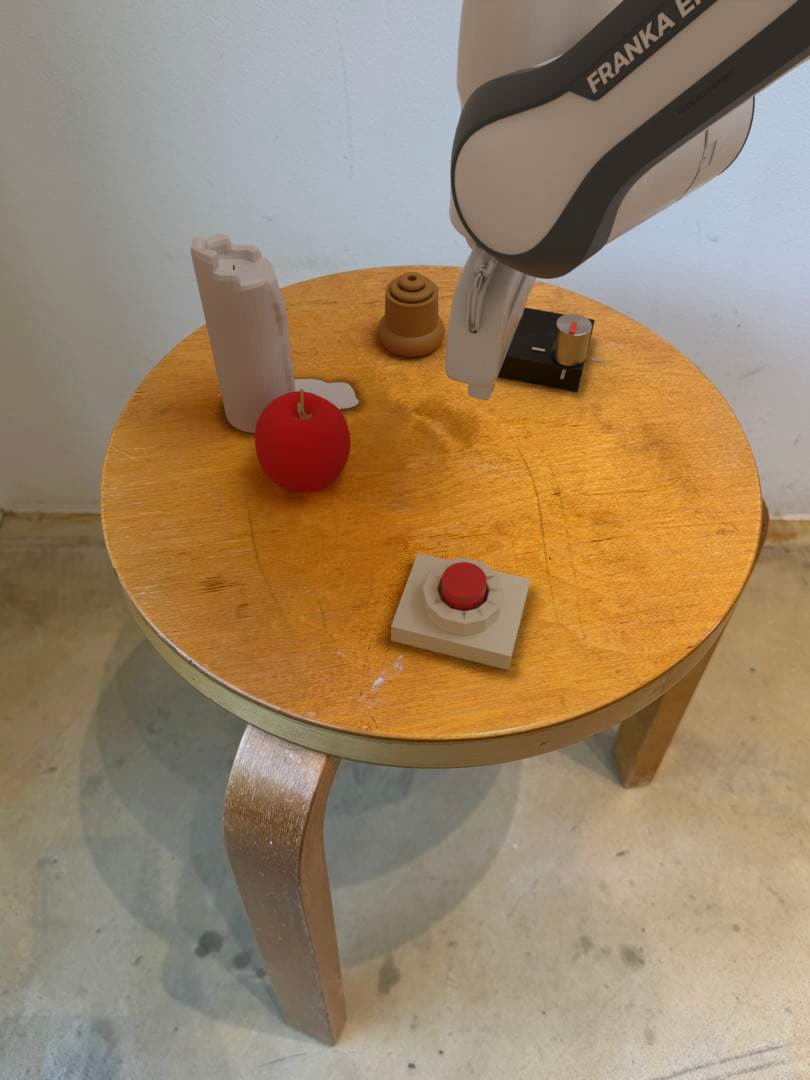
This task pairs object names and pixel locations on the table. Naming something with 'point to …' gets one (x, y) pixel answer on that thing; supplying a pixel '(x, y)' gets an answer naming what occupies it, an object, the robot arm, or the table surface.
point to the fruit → (302, 442)
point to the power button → (463, 585)
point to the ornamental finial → (411, 316)
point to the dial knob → (571, 339)
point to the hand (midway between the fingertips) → (495, 356)
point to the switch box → (460, 614)
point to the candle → (250, 332)
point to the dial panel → (540, 353)
